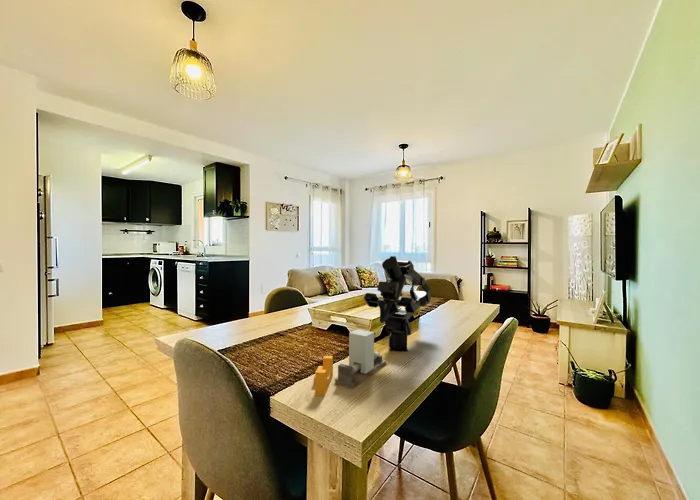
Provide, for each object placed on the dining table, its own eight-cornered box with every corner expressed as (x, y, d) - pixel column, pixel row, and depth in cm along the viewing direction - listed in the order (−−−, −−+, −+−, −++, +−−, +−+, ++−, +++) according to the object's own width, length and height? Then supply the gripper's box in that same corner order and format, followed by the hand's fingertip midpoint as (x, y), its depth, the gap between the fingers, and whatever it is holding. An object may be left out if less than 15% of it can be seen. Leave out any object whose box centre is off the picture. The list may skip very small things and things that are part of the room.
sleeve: (357, 363, 98) (357, 329, 98) (373, 368, 94) (374, 332, 94) (349, 369, 94) (349, 332, 93) (365, 373, 90) (365, 336, 90)
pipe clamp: (318, 376, 93) (319, 355, 92) (332, 377, 92) (332, 356, 92) (308, 395, 81) (308, 371, 81) (324, 396, 80) (324, 372, 80)
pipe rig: (370, 360, 105) (371, 344, 105) (386, 364, 102) (386, 348, 102) (335, 383, 88) (335, 364, 88) (352, 388, 84) (352, 369, 84)
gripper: (366, 271, 114) (350, 305, 105) (413, 274, 104) (399, 312, 95) (376, 289, 121) (361, 323, 112) (420, 294, 110) (408, 331, 101)
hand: (381, 322), depth 105 cm, fingers closed
